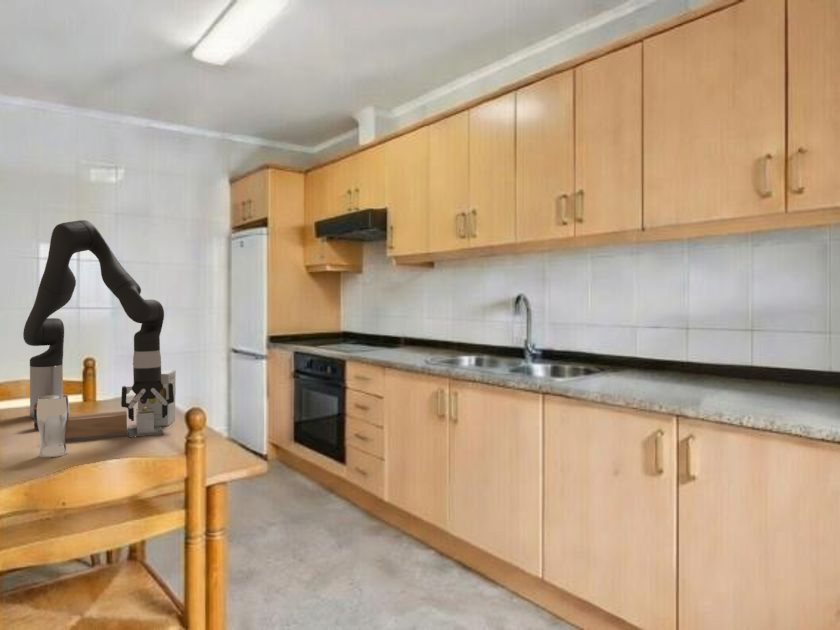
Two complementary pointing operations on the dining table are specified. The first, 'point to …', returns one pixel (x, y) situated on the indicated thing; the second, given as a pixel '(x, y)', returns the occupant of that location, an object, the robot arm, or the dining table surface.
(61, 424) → the beer glass
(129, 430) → the mat
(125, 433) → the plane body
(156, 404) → the supplement box
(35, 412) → the supplement bottle
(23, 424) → the dining table surface
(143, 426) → the drawer with brass knob
